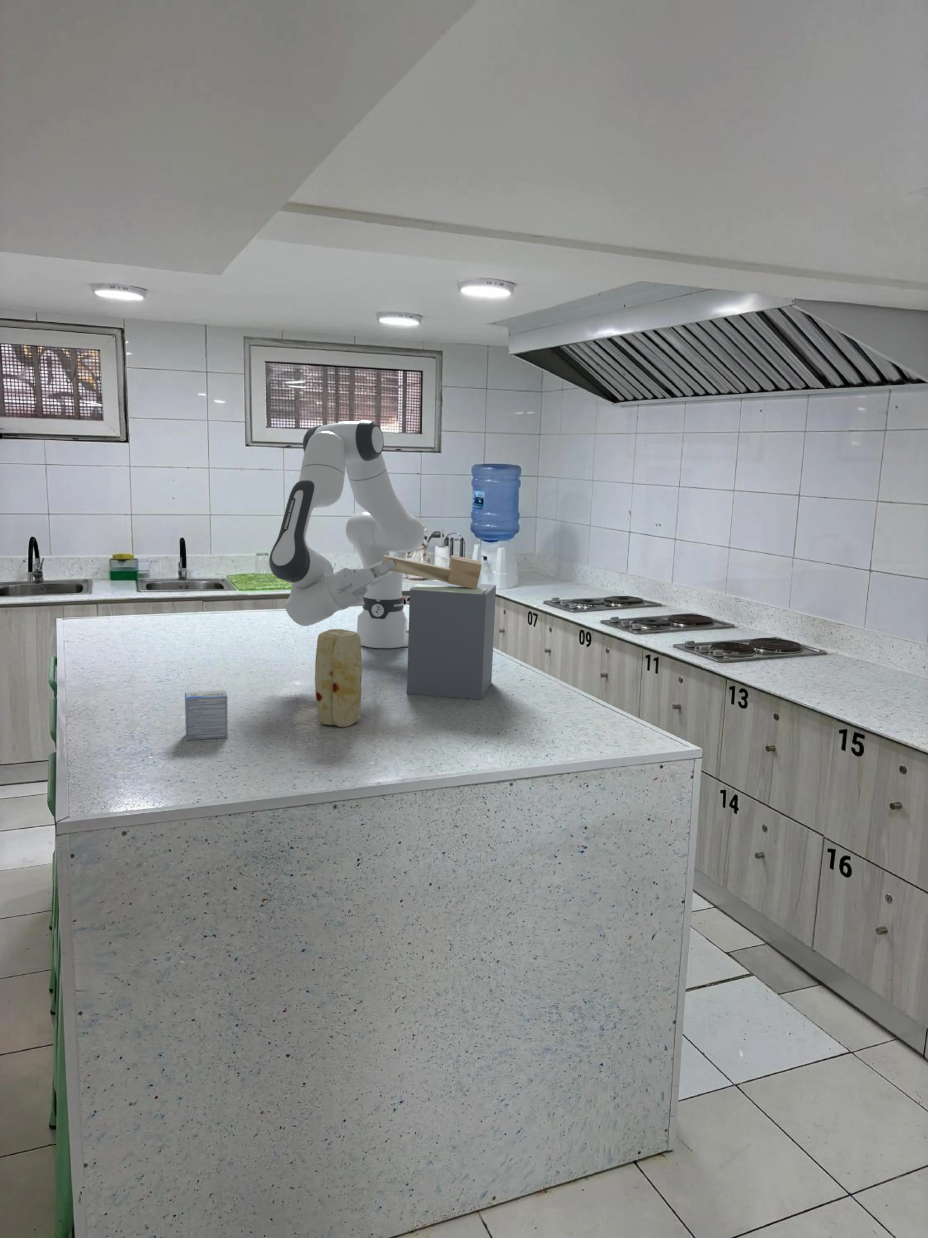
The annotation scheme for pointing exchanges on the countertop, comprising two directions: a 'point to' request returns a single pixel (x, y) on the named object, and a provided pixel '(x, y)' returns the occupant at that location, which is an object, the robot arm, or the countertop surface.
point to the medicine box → (206, 715)
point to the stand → (450, 639)
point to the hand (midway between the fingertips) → (396, 561)
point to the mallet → (441, 570)
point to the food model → (338, 677)
